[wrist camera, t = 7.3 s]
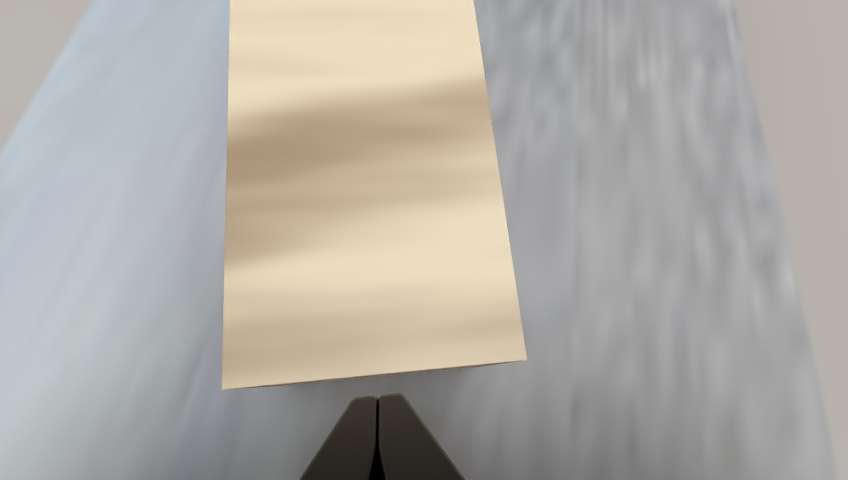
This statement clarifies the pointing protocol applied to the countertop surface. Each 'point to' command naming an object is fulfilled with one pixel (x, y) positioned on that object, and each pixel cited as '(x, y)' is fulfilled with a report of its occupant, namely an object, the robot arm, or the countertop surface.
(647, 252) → the countertop surface
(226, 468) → the countertop surface
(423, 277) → the pine block
